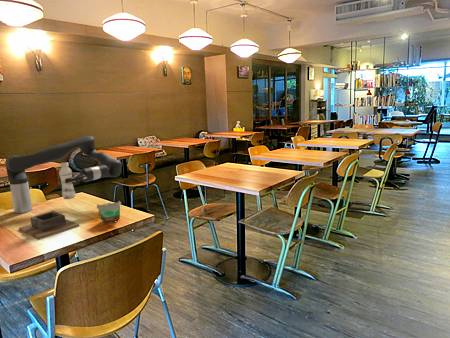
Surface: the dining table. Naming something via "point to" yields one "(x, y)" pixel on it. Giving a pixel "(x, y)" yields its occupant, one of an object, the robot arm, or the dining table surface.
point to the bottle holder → (48, 225)
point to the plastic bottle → (66, 187)
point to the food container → (109, 212)
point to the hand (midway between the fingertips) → (62, 180)
